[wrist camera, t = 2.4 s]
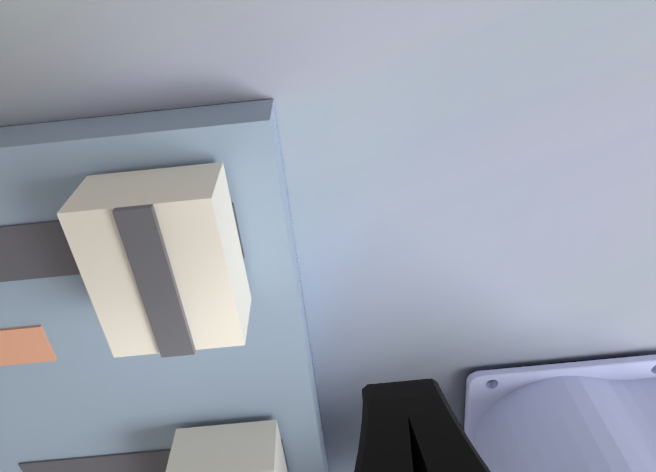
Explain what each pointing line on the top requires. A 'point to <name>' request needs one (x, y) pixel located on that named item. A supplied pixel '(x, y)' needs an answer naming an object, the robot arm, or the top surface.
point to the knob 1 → (160, 259)
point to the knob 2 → (228, 448)
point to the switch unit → (83, 324)
